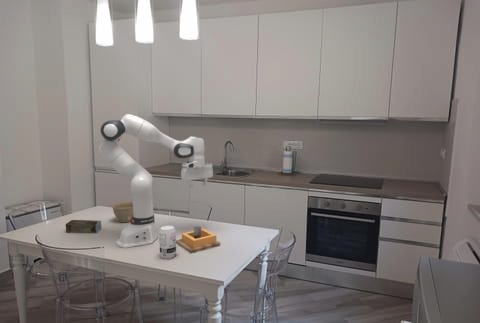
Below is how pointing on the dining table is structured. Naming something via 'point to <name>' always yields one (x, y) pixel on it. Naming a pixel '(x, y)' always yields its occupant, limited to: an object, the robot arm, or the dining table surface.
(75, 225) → the beverage carton
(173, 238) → the supplement can
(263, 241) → the dining table surface
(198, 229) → the wooden peg stand
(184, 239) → the orange square tray
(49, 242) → the dining table surface
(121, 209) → the planter bowl
